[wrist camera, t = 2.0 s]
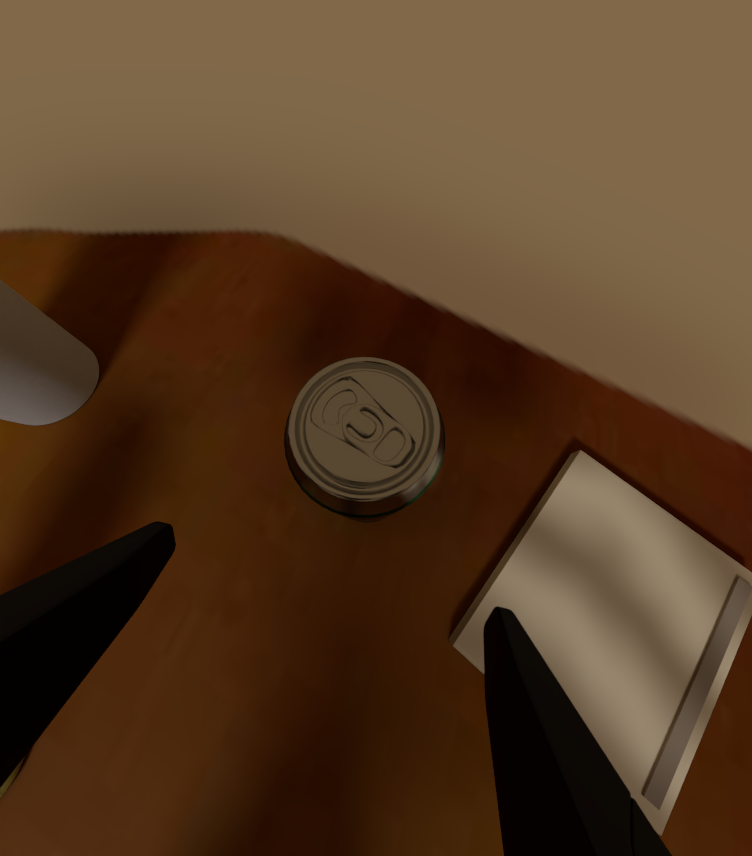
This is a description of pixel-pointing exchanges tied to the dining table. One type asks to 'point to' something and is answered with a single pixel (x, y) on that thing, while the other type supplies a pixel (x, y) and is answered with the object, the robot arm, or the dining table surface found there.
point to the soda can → (364, 438)
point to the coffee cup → (40, 365)
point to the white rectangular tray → (622, 621)
